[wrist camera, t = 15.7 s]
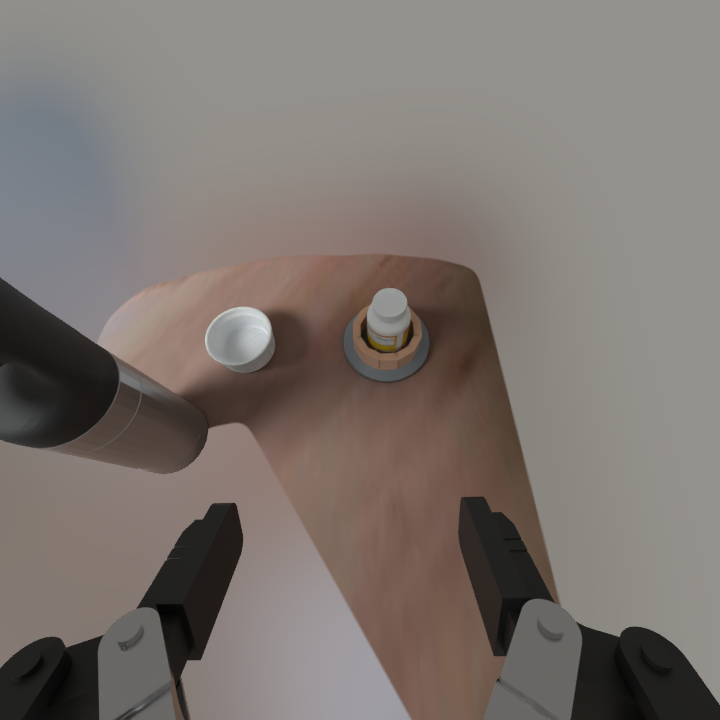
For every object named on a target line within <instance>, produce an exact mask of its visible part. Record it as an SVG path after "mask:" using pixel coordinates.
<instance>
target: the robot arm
mask: <svg viewBox="0 0 720 720" xmlns="http://www.w3.org/2000/svg"><path fill="white" fill-rule="evenodd" d="M207 434H208V424H207V421H206V418H205V416H204V414H203V413H202V411H201V410H200V409H199V408H197V407H196V406H194V405H193V404H191V403H189V402H188V401H186V400H185V399H183V398H182V397H180V396H179V395H177V394H175V393H174V392H172V391H171V390H169V389H168V388H166V387H164V386H163V385H161V384H160V383H158V382H156V381H155V380H153V379H152V378H150V377H148V376H147V375H145V374H144V373H142V372H141V371H139V370H137V369H136V368H134V367H133V366H131V365H129V364H128V363H126V362H124V361H123V360H121V359H120V358H118V357H116V356H115V355H113V354H112V353H110V352H108V351H107V350H105V349H104V348H102V347H100V346H99V345H97V344H95V343H94V342H92V341H91V340H89V339H88V338H87V337H85V336H84V335H82V334H81V333H79V332H78V331H77V330H75V329H74V328H72V327H71V326H69V325H68V324H66V323H65V322H63V321H62V320H60V319H59V318H57V317H56V316H54V315H53V314H51V313H50V312H48V311H47V310H45V309H44V308H42V307H41V306H39V305H38V304H36V303H35V302H34V301H32V300H31V299H29V298H28V297H26V296H25V295H24V294H22V293H21V292H19V291H18V290H17V289H15V288H14V287H12V286H11V285H10V284H8V283H7V282H6V281H4V280H3V279H1V278H0V440H3V441H5V442H9V443H13V444H17V445H22V446H27V447H32V448H38V449H43V450H48V451H52V452H57V453H62V454H67V455H72V456H77V457H82V458H87V459H91V460H96V461H101V462H106V463H110V464H115V465H120V466H125V467H130V468H134V469H138V470H143V471H148V472H153V473H159V474H167V473H173V472H176V471H179V470H181V469H183V468H185V467H187V466H188V465H189V464H190V463H192V462H193V461H194V460H195V459H196V458H197V457H198V455H199V454H200V452H201V450H202V449H203V448H204V445H205V443H206V440H207ZM458 534H459V543H460V548H461V552H462V555H463V558H464V561H465V564H466V568H467V571H468V574H469V577H470V581H471V584H472V587H473V590H474V593H475V597H476V600H477V603H478V606H479V610H480V613H481V616H482V619H483V622H484V626H485V629H486V632H487V635H488V639H489V642H490V645H491V648H492V651H493V655H494V656H506V660H505V663H504V666H503V669H502V672H501V675H500V677H499V679H497V681H496V683H495V686H494V689H493V692H492V695H491V698H490V701H489V704H488V707H487V710H486V713H485V716H484V719H483V720H720V705H719V703H718V702H717V701H716V699H715V698H714V696H713V695H712V694H711V692H710V691H709V689H708V688H707V686H706V685H705V684H704V682H703V681H702V679H701V678H700V677H699V675H698V674H697V672H696V671H695V669H694V668H693V667H692V665H691V664H690V662H689V661H688V660H687V658H686V657H685V656H684V654H683V653H682V652H681V651H680V650H679V649H678V648H677V647H676V646H675V645H674V644H672V643H671V642H670V641H668V640H667V639H666V638H664V637H663V636H661V635H660V634H658V633H656V632H654V631H651V630H649V629H646V628H642V627H629V628H626V629H625V630H623V632H622V633H621V635H620V637H617V636H614V635H611V634H607V633H604V632H601V631H597V630H594V629H591V628H588V627H585V626H583V625H581V624H579V623H577V622H575V620H574V619H573V618H572V616H571V615H570V614H569V613H568V612H567V611H566V610H564V609H563V608H562V607H560V606H559V605H557V604H556V603H555V602H554V600H553V599H552V597H551V595H550V593H549V591H548V589H547V587H546V585H545V583H544V581H543V579H542V578H541V576H540V574H539V572H538V570H537V568H536V566H535V564H534V562H533V560H532V558H531V556H530V554H529V553H528V552H527V549H526V547H525V545H524V543H523V541H521V537H520V535H519V533H518V531H517V529H516V527H515V525H514V524H513V523H512V522H511V521H510V520H509V519H508V518H507V517H506V516H505V515H504V514H503V513H502V512H493V513H492V512H491V510H490V508H489V506H488V504H487V501H486V499H485V498H484V497H462V498H461V502H460V515H459V529H458ZM242 547H243V533H242V529H241V524H240V519H239V515H238V510H237V506H236V504H235V503H214V504H212V505H211V506H210V508H209V510H208V511H207V513H206V515H205V517H204V519H203V520H195V521H194V522H193V523H192V524H191V525H190V526H189V527H188V528H186V529H185V531H183V533H182V534H181V536H180V537H179V539H178V541H177V542H176V544H175V546H174V549H172V551H171V552H170V554H169V556H168V558H167V561H165V563H164V564H163V566H162V567H161V569H160V571H159V572H158V574H157V576H156V577H155V579H154V581H153V582H152V585H151V586H150V587H149V589H148V591H147V592H146V594H145V596H144V597H143V599H142V601H141V602H140V604H139V606H138V607H137V609H135V610H133V611H130V612H128V613H127V614H125V615H123V616H122V617H121V618H119V619H118V620H117V621H116V622H115V623H113V624H112V625H111V627H110V628H109V629H108V630H107V631H106V633H105V634H104V635H102V636H100V637H97V638H94V639H91V640H88V641H85V642H82V643H79V644H76V645H73V646H70V647H67V648H66V647H65V645H64V643H63V641H62V640H61V639H60V638H58V637H46V638H43V639H39V640H37V641H35V642H33V643H31V644H29V645H27V646H26V647H24V648H23V649H21V650H20V651H19V652H17V653H16V654H15V655H13V657H11V658H10V659H9V660H8V661H7V662H6V663H5V664H4V665H3V666H2V667H1V668H0V720H191V719H190V714H189V710H188V706H187V701H186V696H185V692H184V687H183V682H182V678H181V674H182V671H183V669H184V667H185V664H186V662H187V660H201V658H202V655H203V653H204V650H205V648H206V645H207V642H208V640H209V637H210V634H211V632H212V629H213V626H214V624H215V621H216V618H217V616H218V613H219V611H220V608H221V605H222V602H223V600H224V597H225V595H226V592H227V589H228V587H229V584H230V581H231V579H232V576H233V574H234V571H235V568H236V565H237V563H238V560H239V558H240V555H241V551H242Z"/></svg>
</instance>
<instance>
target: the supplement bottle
mask: <svg viewBox="0 0 720 720" xmlns="http://www.w3.org/2000/svg"><path fill="white" fill-rule="evenodd" d="M410 320H411V312H410V309H409V307H408V305H407V298H406V296H405V295H404V294H403V293H402V292H401V291H400V290H397V289H394V288H386V289H382V290H380V291H379V292H377V293H376V295H375V296H374V298H373V303H372V304H371V305H370V306H369V308H368V311H367V335H368V345H369V347H370V348H371V349H373V350H375V351H377V352H379V353H397V352H399V351H400V350H402V349H404V348H405V346H406V342H407V336H408V331H409V326H410Z"/></svg>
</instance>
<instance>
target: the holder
mask: <svg viewBox="0 0 720 720" xmlns="http://www.w3.org/2000/svg"><path fill="white" fill-rule="evenodd" d="M370 305H371V304H370ZM370 305H368V306H367V307H365V308H363V309H361V311H360V312H359V313H358V314H356V315H355V316H354V317H353V318H352V320H351V321H350V322H349V324H348V326H347V328H346V330H345V334H344V341H343V342H344V350H345V355H346V357H347V360H348V361H349V363H350V365H351V366H352V367H353V369H354V370H355V371H356V372H358V373H359V374H360V375H362V376H363V377H365V378H367V379H370V380H372V381H376V382H382V383H391V382H398V381H401V380H404V379H406V378H408V377H410V376H412V375H413V374H415V373H416V372H417V371H418V370H419V369H420V368H421V366H422V365H423V363H424V362H425V359H426V357H427V354H428V351H429V344H430V342H429V334H428V331H427V328H426V327H425V325H424V323H423V322H422V320H421V319H420V318H419V317H418V316H417V315H416V314H415V313H414V312H413V310H412V309H411V308H410V307H409V309H410V312H411V320H410V326H409V331H408V336H407V342H406V346H405V348H404V349H402V350H400V351H399V352H397V353H379V352H377V351H375V350H373V349H371V348H370V347H369V345H368V335H367V311H368V308H369V306H370Z"/></svg>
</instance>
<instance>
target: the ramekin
mask: <svg viewBox="0 0 720 720" xmlns="http://www.w3.org/2000/svg"><path fill="white" fill-rule="evenodd" d="M205 344H206V348H207V351H208V353H209V354H210V356H211V357H212V358H213V359H215V360H216V361H217V362H219V363H221V364H223V365H224V366H225V367H227V368H228V369H230V370H232V371H234V372H238V373H250V372H254V371H257V370H259V369H260V368H262V367H263V366H265V365H266V364H267V363H268V362H269V361H270V359H271V358H272V356H273V354H274V351H275V338H274V335H273V332H272V326H271V323H270V321H269V319H268V317H267V316H266V315H265V314H264V313H263V312H261V311H260V310H258V309H255V308H251V307H236V308H232V309H229V310H227V311H225V312H223V313H222V314H220V315H219V316H217V317H216V318H215V319H214V320H213V321H212V323H211V324H210V326H209V328H208V330H207V332H206V336H205Z"/></svg>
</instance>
